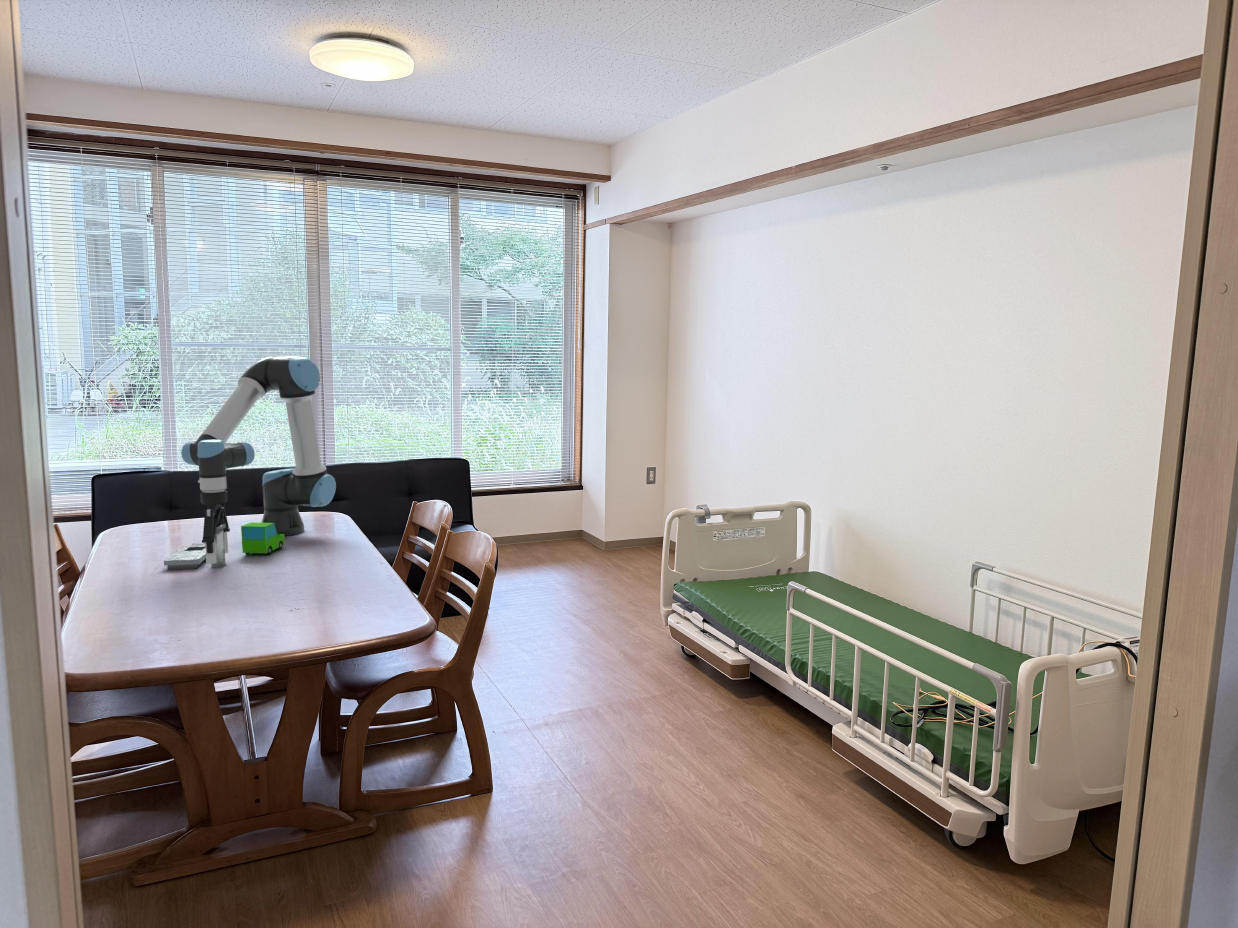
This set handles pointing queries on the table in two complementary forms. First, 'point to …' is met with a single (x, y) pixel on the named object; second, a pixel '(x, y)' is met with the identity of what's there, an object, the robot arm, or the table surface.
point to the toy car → (261, 538)
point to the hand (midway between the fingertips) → (217, 557)
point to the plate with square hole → (187, 557)
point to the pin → (219, 546)
